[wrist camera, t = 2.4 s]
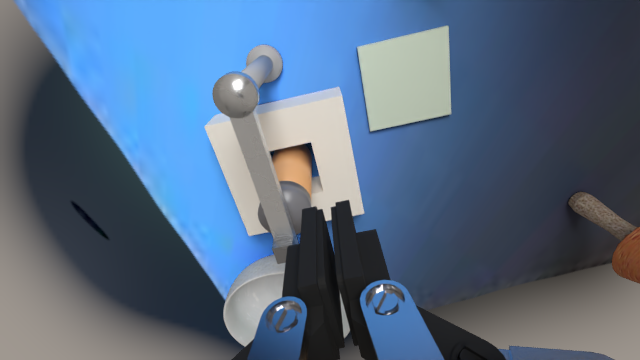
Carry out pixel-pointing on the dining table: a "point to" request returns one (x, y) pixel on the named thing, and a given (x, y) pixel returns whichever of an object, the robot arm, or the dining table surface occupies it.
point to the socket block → (290, 142)
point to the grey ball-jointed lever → (256, 154)
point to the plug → (292, 182)
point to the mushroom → (636, 247)
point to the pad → (406, 78)
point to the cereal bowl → (257, 298)
